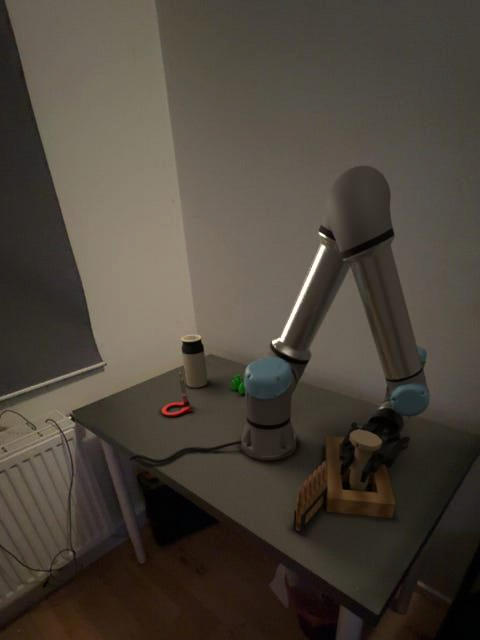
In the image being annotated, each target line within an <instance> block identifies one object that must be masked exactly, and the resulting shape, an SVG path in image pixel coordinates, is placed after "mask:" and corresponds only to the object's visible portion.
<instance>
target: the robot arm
mask: <svg viewBox="0 0 480 640" xmlns="http://www.w3.org/2000/svg"><path fill="white" fill-rule="evenodd" d="M317 234H318V237H319V242H320V243H319V244H318V246H317V247H318V248H317V250H316V252H315V254H314V256H313V259H312V260H311V264H310V265H309V267H308V270H307V273H306V275H305V277H304V279H303V282H302V284H301V287H300V289H299V291H298V293H297V295H296V298H295V300H294V302H293V304H292V307H291V309H290V311H289V314H288V316H287V319H286V320H285V323H284V325H283V327H282V330H281V332H280V334H279V335H276V336H274V337H272V338H271V341H270V343H269V346H268V348H267V351H266V353H265V355H264V357H261V358H259V359H258V360H257V359H255V360H253V361H252V362H250V363H249V364H248V365H247V367H246V368H245V371H244V374H245V377H244V376H243V381H244V382H243V384H244V386H245V393H244V397H245V399H244V400H245V416H246V422H245V424H244V428H243V430H242V434H241V437H240V440H237V441H231V442H228V443H223V444H219V445H216V446H212V447H211V446H210V447H199V446H190V447H184V448H181V449H179V450H177V451H176V452H174V453H172V454H171V455H169V456H168V457H165V458H161V459H155V458H151V457H148V456H146V455H142V454H133V455H132V456H130V457H129V461H134V459H143V460H145V461H147V462H150V463H155V464H161V463H166V462H169V461H170V460H172V459H174V458H175V457H177V456H179V455H180V454H182V453H185V452H189V451H200V452H211V451H217V450H220V449H224V448H228V447H231V446H236V445H240V448H241V450H242V452H243V453H244V454H245V455H246V456H248V457H250V458H252V459H253V460H256V461H257V460H258V461H262V462H273V461H274V462H275V461H279V460H280V461H281V460H283V459H286V458H288V457H290V456H291V455H293V453H294V452H295V451H296V449H297V432H296V429H294V427H293V425H292V422H291V415H292V414H291V411H292V397H293V394H294V392H295V390H296V388H297V385H298V384H299V381H300V380H301V378H302V377H303V375H304V373H305V370H306V368H307V366H308V364H309V362H310V360H311V358H312V355H313V354H312V351H311V349H310V348H311V346H312V344H313V342H314V340H315V339H316V336H317V334H318V332H319V330H320V328H321V326H322V325H323V322H324V320H325V319H326V316H327V314H328V313H329V310H330V309H331V307H332V304H333V303H334V301H335V298H336V296H337V294H338V293H339V291H340V289H341V286H342V285H343V283H344V281H345V279H346V277H347V275H348V273H349V271H350V269H351V273H352V276H353V278H354V282H355V284H356V288H357V291H358V292H357V293H358V295H359V298H360V301H361V303H362V307H363V310H364V313H365V318H366V320H367V323H368V327H369V330H370V333H371V337H372V340H373V343H374V346H375V349H376V352H377V355H378V359H379V363H380V365H381V368H382V371H383V374H384V378H385V379H384V380H385V382H386V389H385V395H384V400H383V401H382V402H381V404H379V406H378V407H377V409H376V410H375V411H374V413H373V414H372V415H371V417H370V418H369V420H368V422H367V423H364V424H363V425H358V423H357V422H353V421H352V422H351V425H350V429H349V431H348V433H347V434H346V435H345V436H344V437H345V438H344V440H343V441H342V447H341V452H343V453H344V454H343V456H342V459H341V461H342V464H341V471H340V474H341V475H343V476H344V474H345V473H346V471H347V470H348V469H349V467H350V466H351V464H352V463H353V458H354V454H355V446H354V445H353V444H352V443H351V441H350V440H349V438H350V433H351V432H353V431H355V430H364V431H368V432H371V433H373V434H375V435H377V436H378V437H379V438H380V439H381V440H382V444H381V447H380V449H379V450H378V454H377V455H374V454H373V455H372V457H371V458H370V460H369V462H368V463H367V465H366V466H365V468H364V469H363V471H362V476H361V481H360V482H363V483H364V482H365V481H366V479H367V478H368V476H369V474H370V473H371V472H374V473H376V472H377V471H378V469H379V467H380V466H381V465H385V466H386V468H391V467H393V465H394V463H395V462H396V460H397V459H398V458H399V456H400V454H401V453H403V451H404V450H407V449H408V448H409V443H410V439H411V438H410V437H409V436H404V437H402V436H401V432H402V430H403V429H404V427H405V425H406V424H407V422H408V420H409V418H410V417H415V416H419V415H420V414H422V413H424V412H425V411H426V410H427V409H428V407H429V405H430V397H431V395H430V390H429V388H428V383H427V379H426V375H425V365H426V363H427V356H428V352H427V350H426V349H425V348H423V347H421V346H418V344H417V342H416V338H415V333H414V329H413V326H412V322H411V318H410V313H409V311H408V310H409V309H408V306H407V303H406V299H405V295H404V291H403V287H402V284H401V283H402V282H401V279H400V277H399V276H400V275H399V271H398V268H397V264H396V260H395V257H394V253H393V249H392V243H393V242H394V239H395V238H396V235H395V231H394V227H393V222H392V215H391V188H390V186H389V182H388V180H387V179H386V177H385V176H384V175H383V173H382V172H381V171H380V170H379V169H377V168H375V167H373V166H369V165H358V166H354V167H351V168H349V169H347V170H345V171H344V172H343V173H341V174H340V175H339V176H338V177H337V178H336V179H335V180H334V181H333V184H332V185H331V187H330V189H329V191H328V193H327V197H326V201H325V214H324V216H323V218H322V221H321V223H320V226H319V228H318V230H317ZM392 443H395V444H394V445H393V447H392V448H391V450H389V452H388V454H387V455H385V451H386V447H387V445H390V444H392Z"/></svg>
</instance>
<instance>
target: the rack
mask: <svg viewBox="0 0 480 640" xmlns="http://www.w3.org/2000/svg"><path fill="white" fill-rule="evenodd" d="M325 437H326V438H325V448H324V452H325V455H324V456H325V461H326V464H327V485H326V486H327V487H328V489H327V500H326V513H327V512H328V513H337V514H346V515H358V516H365V517H376V518H385V519H393V517H394V512H395V508H396V501H395V496H394V493H393V487H392V485H391V481H390V477H389V472H388V468H387V467H386V466H385V465H381V466H380V467H379V469H378V471H377V472H376V473H374V472H371V473H370V475H369V480H368V484H367V485H370V486H371V491H365V492H363V491H352V490H349V489H343V483H350V472H351V467H352V464H351V466H350V467H349V469H348V470H347V471H346V473H345V474H344V476H343V475H341V474H340V471H341V464H342V460H341V457H343V454H344V453H343V452H341V447H342V441H343V440H344V438H345V437H346V436H331V435H330V436H329V435H326V436H325ZM378 450H379V449H378ZM378 450H376V451H372V455H373V454H374V455H377V454H378ZM371 457H372V456H371Z"/></svg>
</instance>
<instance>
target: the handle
mask: <svg viewBox="0 0 480 640" xmlns="http://www.w3.org/2000/svg"><path fill="white" fill-rule="evenodd" d="M349 440H350V441H351V443H352V444H353V445H354V446H355V454H354V458H353V463H352V467H351V472H350V482H349V489H348V490H352V491H363V492H366V488H367V487H368V485H369V484H368V480H369V476H368V478H367V479H366V481H365V482H364V483H363V482H360V481H361V476H362V471H363V469H364V468H365V466H366V465H367V463H368V462H369V460H370V458H371V456H372V451H376V450H378V449H380V447H381V444H382V440H381V439H380V438H379V437H378V436H377V435H375V434H373V433H371V432H368V431H364V430H355V431H353V432H351V433H350V438H349ZM369 475H370V474H369Z"/></svg>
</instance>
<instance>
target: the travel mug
mask: <svg viewBox="0 0 480 640" xmlns="http://www.w3.org/2000/svg"><path fill="white" fill-rule="evenodd" d="M202 339H203V337H202V335H200V334H187V335H184V336H182V337H181V338H180V341H181V342H182V345H181V355H182V361H183V368H184V375H185V382H186V386H187V387H189V388H202V387H204V386H206V385H207V384H208V373H207V364H206V355H205V347H204V344H203V342H202Z"/></svg>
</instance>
